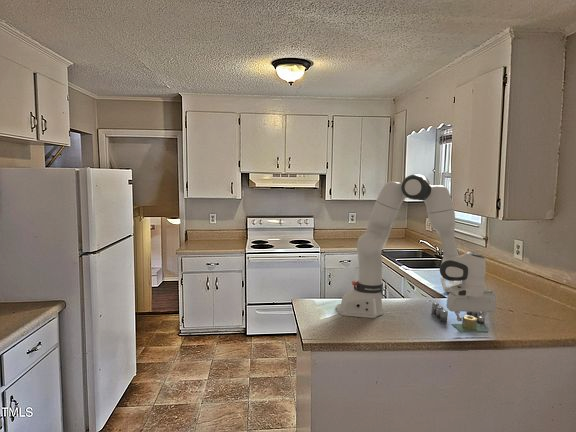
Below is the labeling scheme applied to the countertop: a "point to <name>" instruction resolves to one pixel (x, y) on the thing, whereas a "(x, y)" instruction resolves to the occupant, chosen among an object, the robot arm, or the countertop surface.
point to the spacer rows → (443, 314)
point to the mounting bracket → (447, 288)
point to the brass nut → (469, 322)
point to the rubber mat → (462, 329)
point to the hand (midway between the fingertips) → (469, 320)
